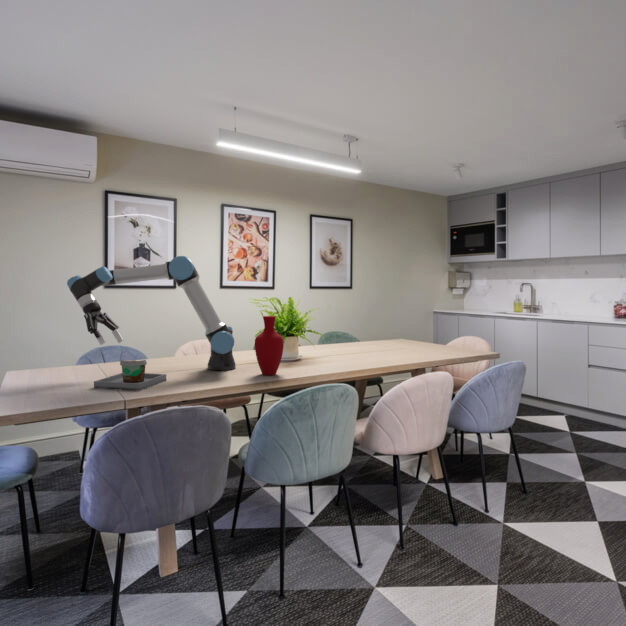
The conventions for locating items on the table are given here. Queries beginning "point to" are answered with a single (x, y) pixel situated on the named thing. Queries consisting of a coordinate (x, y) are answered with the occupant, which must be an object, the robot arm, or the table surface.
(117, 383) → the gray square tray
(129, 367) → the food container
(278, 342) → the vase
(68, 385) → the table surface
